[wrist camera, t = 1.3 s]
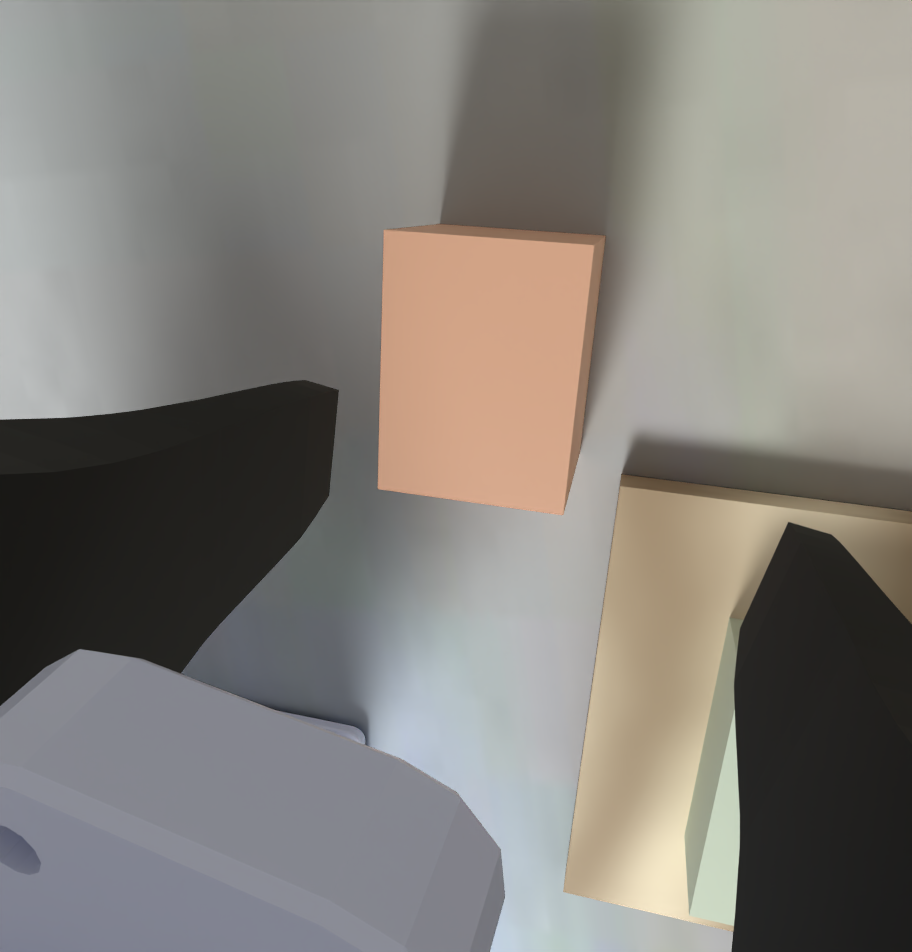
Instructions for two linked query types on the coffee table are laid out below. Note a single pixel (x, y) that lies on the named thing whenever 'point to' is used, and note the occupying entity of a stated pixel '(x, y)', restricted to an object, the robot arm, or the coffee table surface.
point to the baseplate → (683, 665)
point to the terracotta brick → (486, 362)
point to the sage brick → (716, 803)
